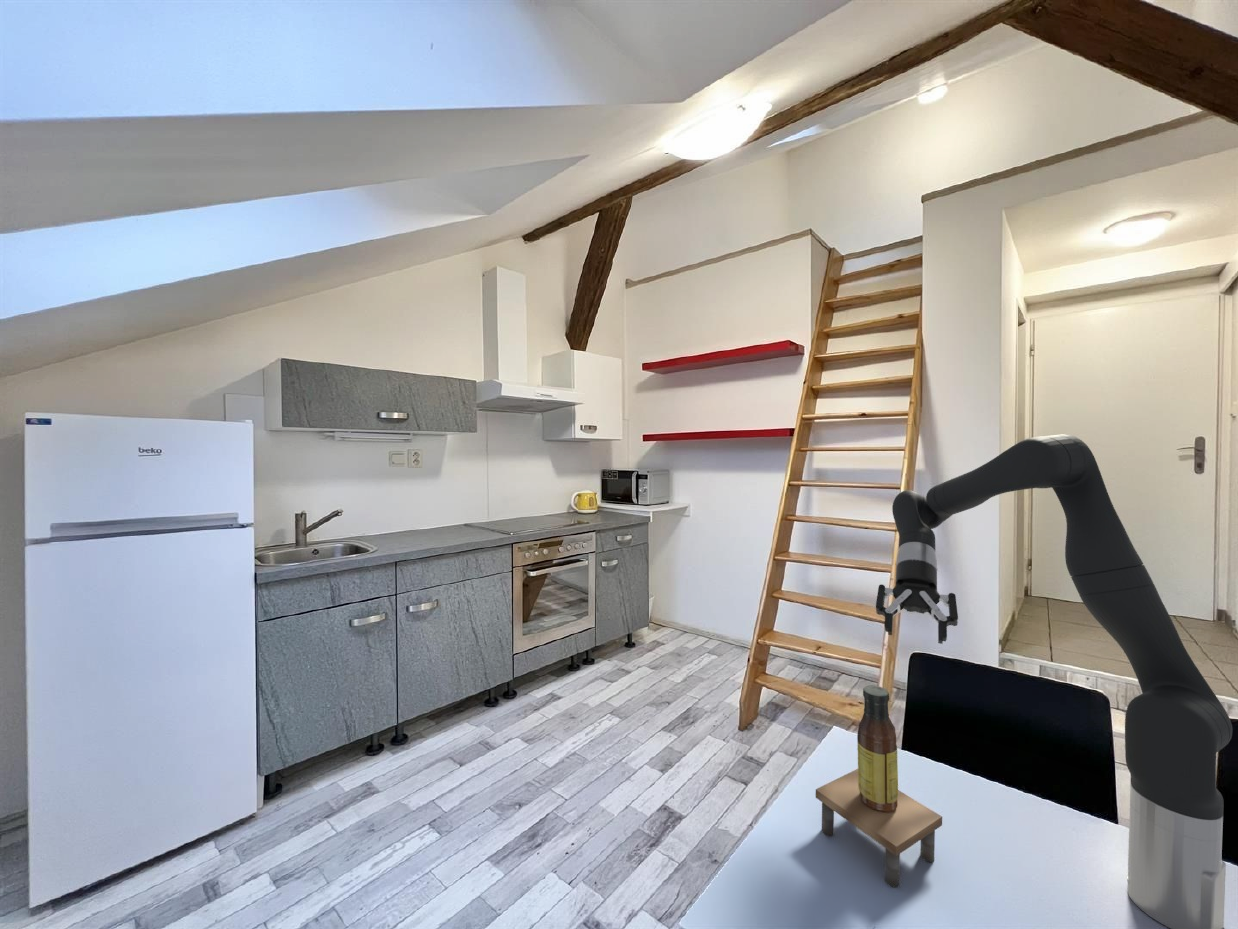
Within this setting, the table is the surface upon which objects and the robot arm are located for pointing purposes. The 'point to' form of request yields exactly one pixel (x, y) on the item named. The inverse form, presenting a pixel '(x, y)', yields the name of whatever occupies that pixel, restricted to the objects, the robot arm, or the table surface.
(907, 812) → the peg shelf
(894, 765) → the sauce bottle
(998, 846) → the table surface
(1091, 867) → the table surface
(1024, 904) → the table surface
